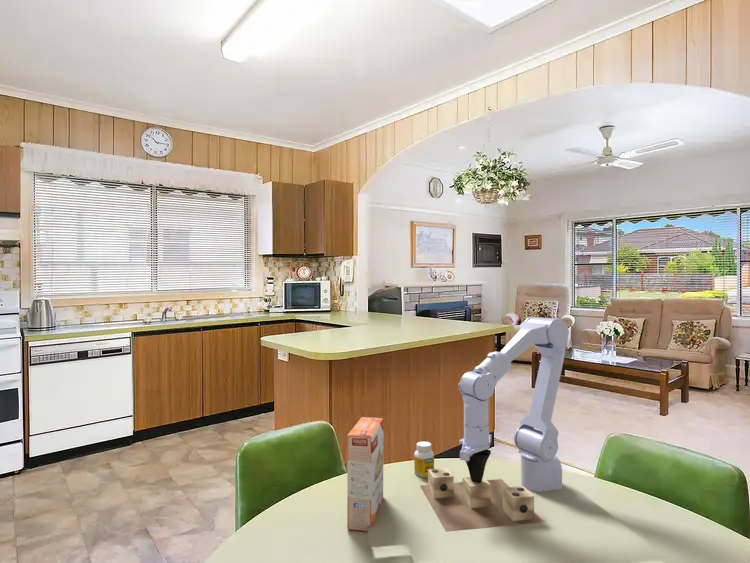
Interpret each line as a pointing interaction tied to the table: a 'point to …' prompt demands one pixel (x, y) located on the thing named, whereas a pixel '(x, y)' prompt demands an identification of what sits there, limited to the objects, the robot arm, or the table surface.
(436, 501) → the walnut board
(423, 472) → the supplement bottle
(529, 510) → the pip cube 2
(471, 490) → the blank cube
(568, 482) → the table surface
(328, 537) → the table surface
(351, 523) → the cracker box
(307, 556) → the table surface
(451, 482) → the pip cube
